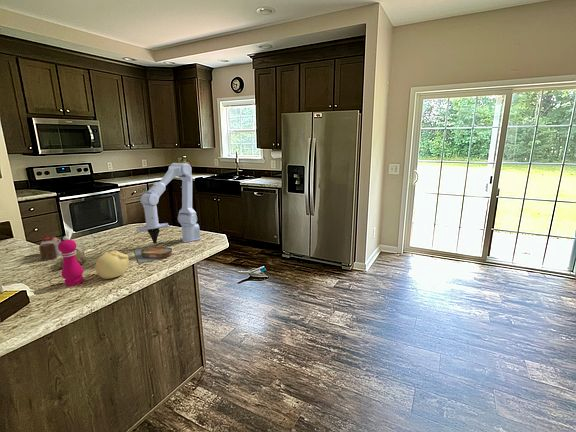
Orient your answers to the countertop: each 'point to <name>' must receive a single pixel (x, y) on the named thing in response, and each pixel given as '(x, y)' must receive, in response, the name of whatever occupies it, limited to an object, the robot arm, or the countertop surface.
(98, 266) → the sculpture
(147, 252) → the tin
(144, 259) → the mat
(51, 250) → the food item
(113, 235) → the countertop surface
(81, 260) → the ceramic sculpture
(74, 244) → the pepper mill
